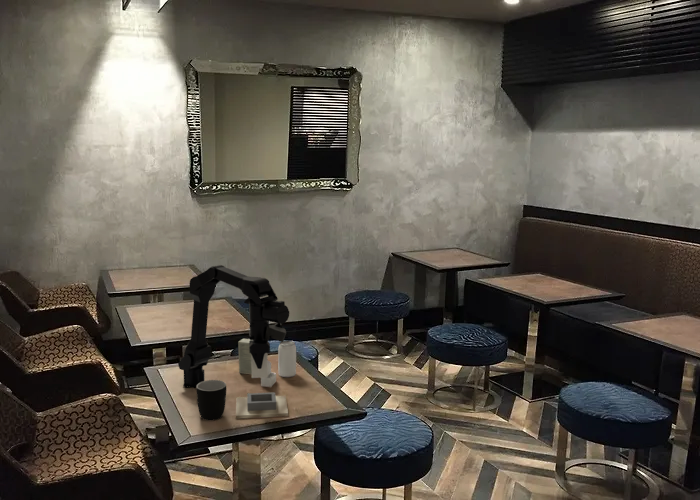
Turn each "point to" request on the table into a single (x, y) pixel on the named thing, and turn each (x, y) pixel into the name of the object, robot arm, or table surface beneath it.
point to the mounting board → (243, 413)
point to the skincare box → (244, 357)
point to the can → (287, 359)
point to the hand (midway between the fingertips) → (259, 366)
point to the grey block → (260, 372)
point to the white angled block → (269, 377)
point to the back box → (261, 401)
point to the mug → (211, 399)
